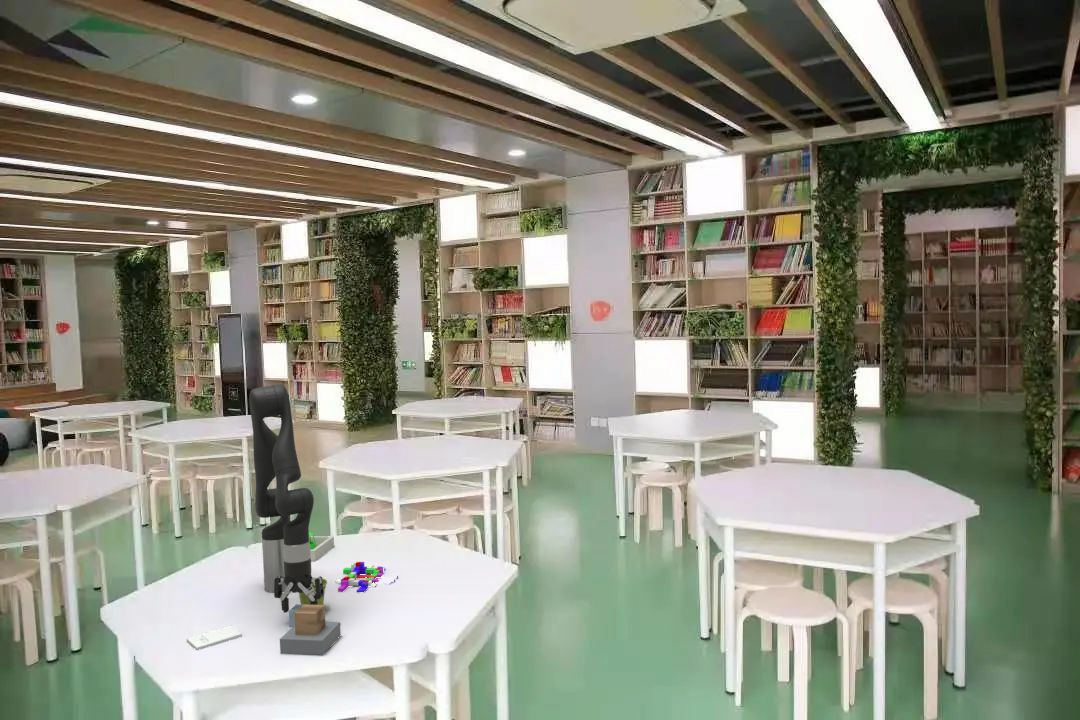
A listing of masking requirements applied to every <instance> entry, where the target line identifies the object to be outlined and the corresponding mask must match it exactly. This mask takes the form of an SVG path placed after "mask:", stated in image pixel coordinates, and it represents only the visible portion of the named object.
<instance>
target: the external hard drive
mask: <svg viewBox="0 0 1080 720" xmlns="http://www.w3.org/2000/svg"><path fill="white" fill-rule="evenodd" d="M239 637H240V638H242V637H243V633H242V632H241V631H240V630H239V629H237V628H236V627H234V625H228V626H225V627H221V628H218V629H215V630H210V631H208V632H205V633H202V634H198V635H195V636H192V637H189V638H186V643H187V644H189V645H190V646H191V647H192V648H193V649H194V648H195V649H196V650H197V651H199V649H200V650H202V649H203V650H204V649H207V648H209V646H210V647H213V646H216V645H220V644H222V643H226V642H229V640H230V641H233V640H237V639H239ZM206 647H207V648H206ZM195 649H194V650H195ZM196 650H195V651H196Z"/></svg>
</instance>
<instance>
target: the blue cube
mask: <svg viewBox="0 0 1080 720" xmlns="http://www.w3.org/2000/svg"><path fill="white" fill-rule="evenodd" d="M302 606H303V605H302V604H301V603H300V604H295V605H294V606H292V607H291V608H289V611H288V624H289V626H288V627H289V628H290V627H293V626H295V617H294V613H295V612H296V611H297V610H298V609H300V608H301V607H302Z"/></svg>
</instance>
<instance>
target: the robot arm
mask: <svg viewBox="0 0 1080 720" xmlns="http://www.w3.org/2000/svg"><path fill="white" fill-rule="evenodd" d="M248 399H249V400H248V401H249V409H250V410H249V411H250V419H251V424H252V425H251V427H252V435H253V437H252V439H253V440H252V441H253V442H252V444H253V445H252V446H253V449H252V451H253V463H254V473H255V495H254V496H255V501H254V503H255V504H254V505H255V506H254V507H255V512H256V515H257V516H258V517H259V518H263V519H265V518H266V519H268V518H276V517H280V518H278V519H277V520H276V521H275V522H274V523H271V524H270V525H268V526H265V527H264V528H263V529H261V544H262V546H261V547H262V549H261V550H262V563H263V566H262V568H263V584H264V586H263V587H264V591H265V592H269V593H274V594H273V596H274V598H275V599H279V600H280V602H281V603H280V604H281V610H282V612H283V613H285V614H286V613H289V610H290V602H289V598H288V597H289V595H290V594H291V593H292V594H294V593H298V594H299V593H303V592H304V593H305V595H306V596H308V597H309V598H310V599H311V601H310V602H311V605H318V599H320V598H321V597H323V596H324V597H325V593H324V590H323V580H322V578H323V577H322V576H321V575H319V576H318V577H313V576H312V561H311V550H310V544H309V532H310V531H309V527H310V522H311V517H312V513H313V508H314V504H315V503H314V500H315V499H314V495H313V493H312V491H311V490H310V489H309V488H308V487H301V488H295V489H289V485H290V484H293V483H295V482H297V481H299V480H300V479H301V477H302V471H301V468H300V463H299V459H298V455H297V451H296V450H297V449H296V445H295V434H294V424H293V423H294V422H293V414H292V409H291V408H292V407H291V402H290V396H289V392H288V390H287V388H286V386H285V385H284V384H273V385H268V386H260V387H256V388H253V389H251V391H250V392H249V398H248ZM277 416H280V422H281V424H280V429H279V431H278V435H277V433H275V432H274V431H273V430H272V429H271V428H270V427H269V426H268V425H267V423H266V422H265V420H264V419H266V418H271V417H277ZM274 479H275V481H276V482H275V483H276V484H275V486H276V487H275V488H269V486H270V485H271V482H272V481H273V480H274ZM292 515H296V517H295V518H294V519H292V520H291V516H292ZM312 582H313V583H314V585H315V587H316V592H315V591H314V588H313V587H312V585H311V583H312ZM308 589H309V590H308Z"/></svg>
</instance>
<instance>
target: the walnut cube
mask: <svg viewBox="0 0 1080 720" xmlns="http://www.w3.org/2000/svg"><path fill="white" fill-rule="evenodd" d="M325 606H326V605H325V604H323V605H305V604H304V605H303V606H302V607H301V608H300V609H298V610H297V611H296V612H295V613H294V617H295V635H317V634H318V633H319V632H320V631H321V630H322V629H323V628H324V627H325V626H326V624H325V622H326V608H325Z"/></svg>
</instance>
